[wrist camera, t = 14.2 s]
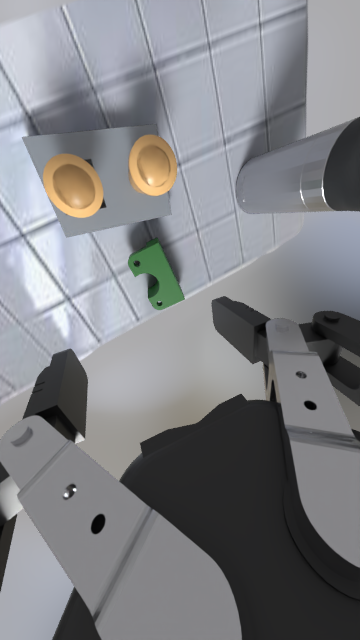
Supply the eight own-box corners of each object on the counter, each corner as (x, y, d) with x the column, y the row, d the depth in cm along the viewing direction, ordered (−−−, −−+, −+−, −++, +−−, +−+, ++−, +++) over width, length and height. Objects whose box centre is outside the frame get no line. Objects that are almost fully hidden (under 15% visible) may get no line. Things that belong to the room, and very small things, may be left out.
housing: (151, 132, 29) (173, 97, 20) (166, 215, 34) (188, 213, 26) (29, 145, 25) (-4, 108, 17) (68, 236, 31) (58, 242, 22)
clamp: (134, 255, 40) (119, 248, 31) (160, 242, 39) (153, 231, 30) (159, 308, 42) (152, 316, 33) (184, 296, 41) (184, 302, 32)
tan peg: (92, 170, 28) (91, 150, 20) (106, 214, 31) (110, 212, 23) (51, 176, 27) (30, 157, 18) (69, 221, 30) (59, 222, 21)
